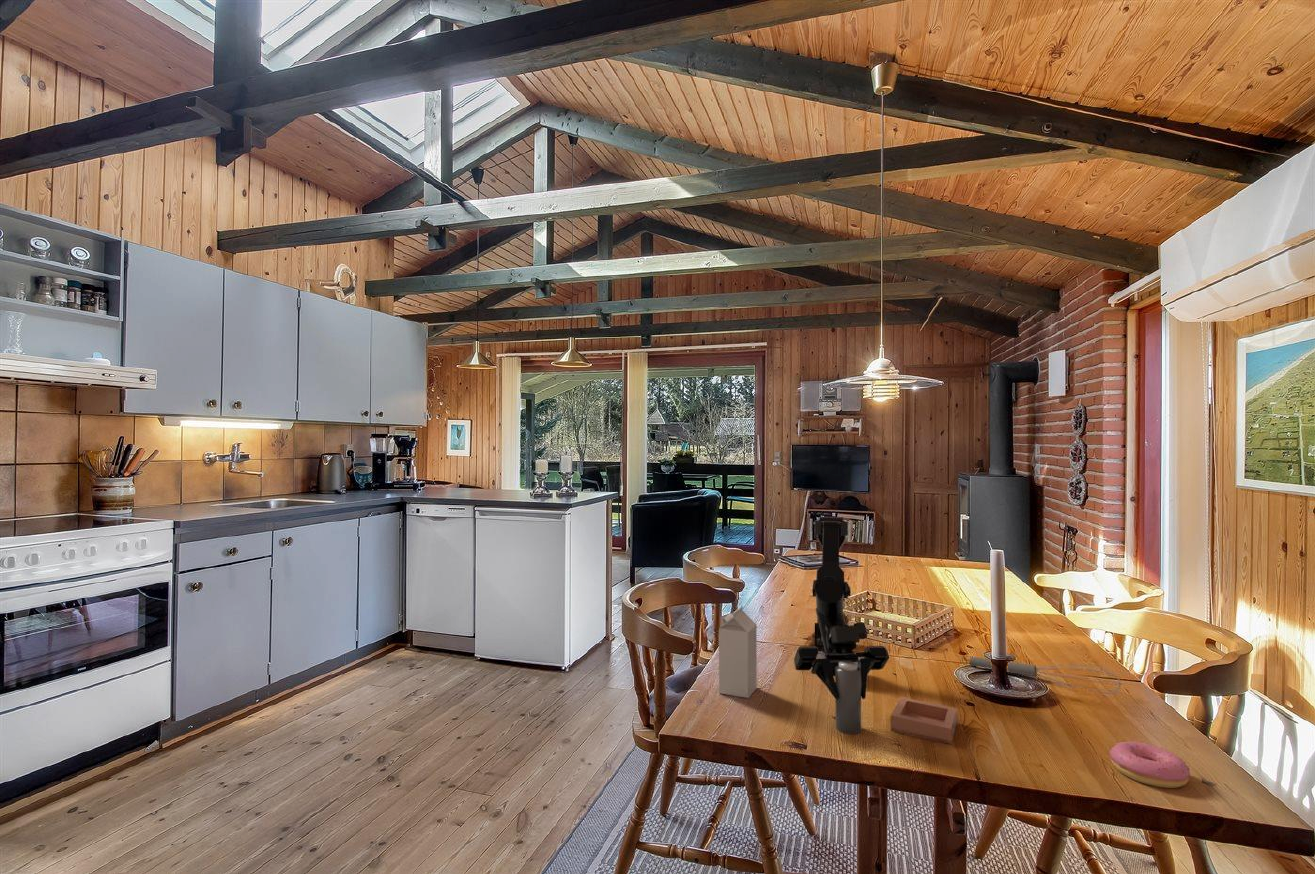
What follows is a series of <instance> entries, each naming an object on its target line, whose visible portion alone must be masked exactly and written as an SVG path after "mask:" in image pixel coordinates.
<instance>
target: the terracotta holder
mask: <svg viewBox="0 0 1315 874" xmlns="http://www.w3.org/2000/svg"><path fill="white" fill-rule="evenodd" d="M957 726H958V708H956V707H953V706H948V705H943V704H937V703H932V702H928V701H924V700H917V699H913V698H907V697H904V696H900V697H899V699H898V701H897V703H896V705H895V707H894V709H893V710H892V713H891V714H890V731H891V732H893V733H894V732H895V733H899V734H902V735H903V734H904V735H907V736H913V737H915V738H916V737H917V738H920V739H921V738H922V739H924V740H929V741H934V742H938V743H942V744H946V743H948V744H947V745H952V744H951V743H953V739H954V737H955V733H956V729H957Z"/></svg>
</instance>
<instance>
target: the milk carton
mask: <svg viewBox="0 0 1315 874" xmlns="http://www.w3.org/2000/svg"><path fill="white" fill-rule="evenodd" d="M743 609H744V606H743V605H741V606H740V607H739V608H737V609H736V610H735V611H734V612H730V613H729V614H727V615H726V616H725V617H723V619H724V620H725V623H724V624H723V625H721V626H720V627H719V628H718V693H719V694H723V695H728V696H734V697H740V698H746V699H749V698H750V697H751V695H752V694H753V693H754V692H755V690H756V689H757V685H758V684H757V683H758V682H757V680H758V677H757V676H758V675H757V674H758V673H757V669H758V668H757V667H758V666H757V663H758V662H757V660H758V659H757V656H758V655H757V654H758V653H757V650H758V649H757V648H758V647H757V636H758V635H757V634H758V633H757V630H758V629H757V624H756V622H754V620H753V619H752V618H751V617H750V616H749V615H748V614H747V613H746V612H745V611H744V610H743Z"/></svg>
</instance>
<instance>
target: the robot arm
mask: <svg viewBox="0 0 1315 874" xmlns="http://www.w3.org/2000/svg"><path fill="white" fill-rule="evenodd" d="M814 535H817V540H818V542H819V544H820V546H821V547H822V552H821V557H822V558H821V565H820V566H819V568H818V569H817V570H816V577H815V578H816V579H813V580H812V581H813V583H812V596H813V597H815V604H816V608H815V613H816V619H817V622H814V632H815V646H807V645H804V646H803V645H802V646H799V647H798V648H797V650H796V652H795V655H794V659H793V663H794V668H795V670H796V671H810V672H811V674H813V675H816V676H817V677H818V678H819V680H820V681H821V682H822V683H823V684H824V685H825V686H826V688H827V689H828V690H829V692H830V693H831V695H832V697H834V699H838V698H839V696H838V691H837V687H836V684H835V667H836V666H837V665H839V662H840V661H851V662H855V663H856V664H857V667H858V668H860V669H861V700H865V699H866V696H867V681H868V674H869V673H870V672H871V671H879V670H882V669H884V668H885V666H886V664H887V662H888V661H889V659H890V655H889V652H888V649H887V648H886V647H885V646H884V645H867V646H866V647H865V649H864V651H862V652H859V651H857V652H854V650H856V649H857V643H860V642H861V641H860V640H864V639H867V638H868V630H867V628H866V624H865V622H855V623H853V625H849V624H847V625H846V618H845V616H844V615H843V613H844V607H845V606H844V605H845V604H844V602H845V599H846V600H848V599H849V597H851V594H852V593H851V586H850V585H849V584H848V581H845V571H844V569H842V567H841V566H840V551H841V550H842V547H843V545H844V544H845V542H846V537H847V536H849V521H846V520H844V517H841V516H819V519H817V520H814ZM818 639H819V640H818ZM817 647H818V649H817Z"/></svg>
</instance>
